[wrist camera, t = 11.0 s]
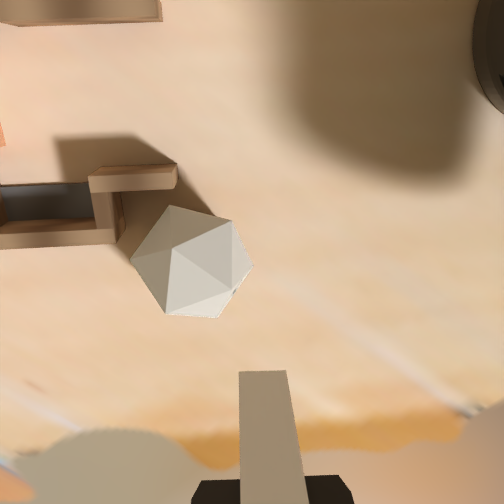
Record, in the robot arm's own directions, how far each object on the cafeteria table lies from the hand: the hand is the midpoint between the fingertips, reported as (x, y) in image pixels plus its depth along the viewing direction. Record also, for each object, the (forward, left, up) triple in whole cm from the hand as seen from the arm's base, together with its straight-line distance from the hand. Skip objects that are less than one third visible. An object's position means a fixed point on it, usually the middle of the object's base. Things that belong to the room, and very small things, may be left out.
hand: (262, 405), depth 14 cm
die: (+4, +3, -24) cm, 25 cm away
